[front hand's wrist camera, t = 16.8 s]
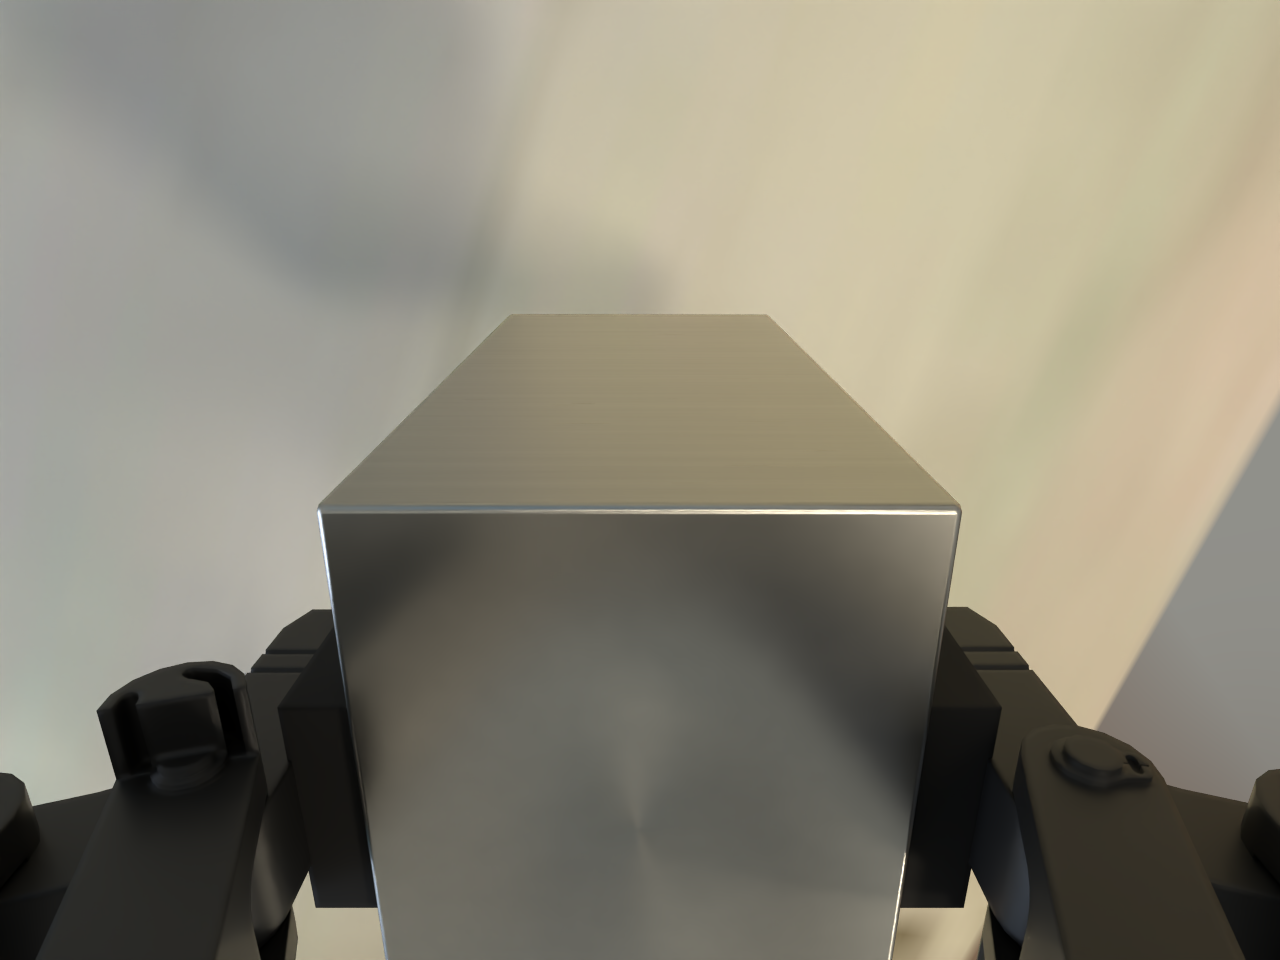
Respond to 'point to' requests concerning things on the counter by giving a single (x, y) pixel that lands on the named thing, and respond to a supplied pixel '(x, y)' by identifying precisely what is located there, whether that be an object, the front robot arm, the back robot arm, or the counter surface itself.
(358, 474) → the block
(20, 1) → the counter surface
